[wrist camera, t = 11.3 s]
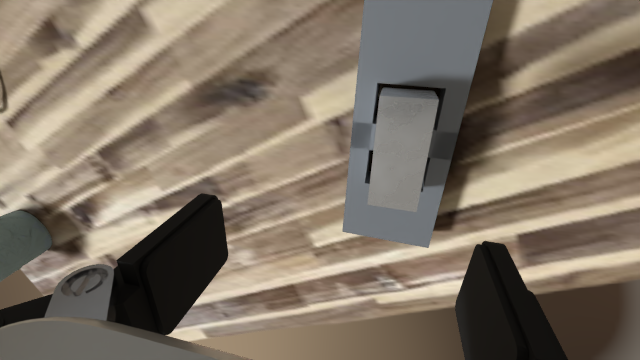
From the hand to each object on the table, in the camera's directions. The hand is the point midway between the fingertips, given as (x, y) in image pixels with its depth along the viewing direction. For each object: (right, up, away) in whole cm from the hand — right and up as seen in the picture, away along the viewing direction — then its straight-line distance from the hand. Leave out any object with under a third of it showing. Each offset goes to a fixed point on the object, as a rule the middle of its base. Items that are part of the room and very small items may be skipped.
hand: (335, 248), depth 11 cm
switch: (+7, +7, +18) cm, 21 cm away
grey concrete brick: (+7, +7, +18) cm, 21 cm away
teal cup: (-53, -7, +43) cm, 68 cm away
